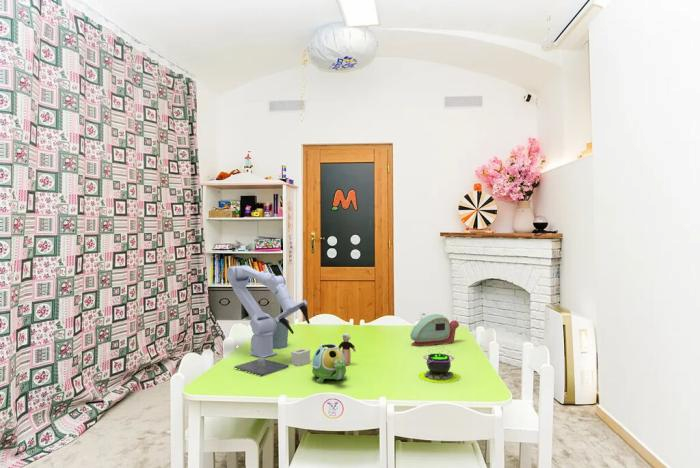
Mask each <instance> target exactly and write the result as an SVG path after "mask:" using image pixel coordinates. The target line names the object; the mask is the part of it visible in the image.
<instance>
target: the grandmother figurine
mask: <svg viewBox="0 0 700 468" xmlns="http://www.w3.org/2000/svg"><path fill="white" fill-rule="evenodd" d="M341 337H342V341H341V342H340V343H339V345H338V346H337V347H338V348H339V349H340V350H341V351H342V353H343V355H344V358H345V361H346V366H351V357H352V355H351V354H352V352H351V349H352V351H353V353H354V352H356V351H357V350H356V347H355V345H354V344H353V343H351V342H350V340H351V335H350V334H349V333H348V332H344V333H342V336H341ZM341 348H342V349H341Z"/></svg>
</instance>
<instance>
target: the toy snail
mask: <svg viewBox="0 0 700 468" xmlns="http://www.w3.org/2000/svg"><path fill="white" fill-rule="evenodd" d="M457 320H458V317H457V316H456V320H452V321H449V319H448V317H446V316H444V315H443V314H439V313H438V314H435V313H434V314H430V315H427V316H425V317H424V318H422V319H420V320H419V321H418V322H417V323H416V324H415V325H414V326H413V327H412V330H411V333H410V334H409V336H410V339H411V340H412V341H413V342H412V343H411V344H410V345H411V346H413V347H424V346H423V345H429V346H436V345H435V344H440V345H445V344H444V343H449V344H452V343H454V341H455V337H456V330H457V328H458V327H459V326H460V323H459V321H457ZM451 342H452V343H451Z"/></svg>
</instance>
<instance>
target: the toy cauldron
mask: <svg viewBox="0 0 700 468" xmlns="http://www.w3.org/2000/svg"><path fill="white" fill-rule="evenodd" d="M444 348H445V346H442V349H443V350H441V348H439V347H438V348H437V350H439V349H440V350H441V352H443V351H446V349H444ZM431 350H432V348H431V349H429V351H428V354H425V355H423V357H422V358H423V359H424V360H426V362H425V364H426V366H427V368H428V370H424V371H421V372H419V374H418V378H420V380H423V381H425V382H428V383H433V384H435V383H436V384H451V383H454V382H458V381H459V380H460V378H461V377H460V375H459V374H457V373H455V372H452V371H450V370H451V363H452V361H453V360H455V357H454V356H453V355H450V354H449V353H450V351H448V354H449V355H448V354H447V353H441V352H440V351H439V352H438V353H432V352H430V351H431Z"/></svg>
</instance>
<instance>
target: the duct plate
mask: <svg viewBox="0 0 700 468" xmlns="http://www.w3.org/2000/svg"><path fill="white" fill-rule="evenodd" d="M289 367H290V366H289V364H288V363H282V362H278V361H274V360H271V359H270V360H269V359H266V357H265V358H262V357H258V356H257V359H255V360H250V361H248V362H245V363H240V364H237V365H235V366H233V369H234V368H237V369H240V370H243V371H242V372H244V371H247V372H246V373H248V372H250V373H249V374H251V373H253V374H252V375H255V374H256V375H255V376H258V375H260V376H259V377H263V376H264V377H265V376H267V375H270V374H272V373H276V372H279V371H282V370H285V369H287V368H289ZM237 369H236V370H237ZM240 370H239V371H240Z"/></svg>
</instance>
